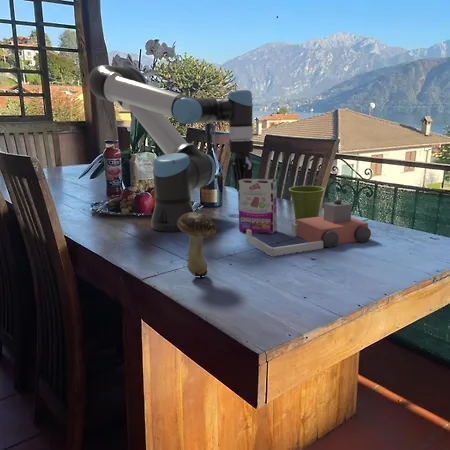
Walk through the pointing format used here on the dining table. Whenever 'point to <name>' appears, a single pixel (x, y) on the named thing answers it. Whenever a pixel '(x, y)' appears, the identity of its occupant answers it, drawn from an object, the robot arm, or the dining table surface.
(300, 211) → the plant pot
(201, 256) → the mushroom
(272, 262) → the dining table surface
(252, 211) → the candy bar box
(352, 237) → the toy tractor
